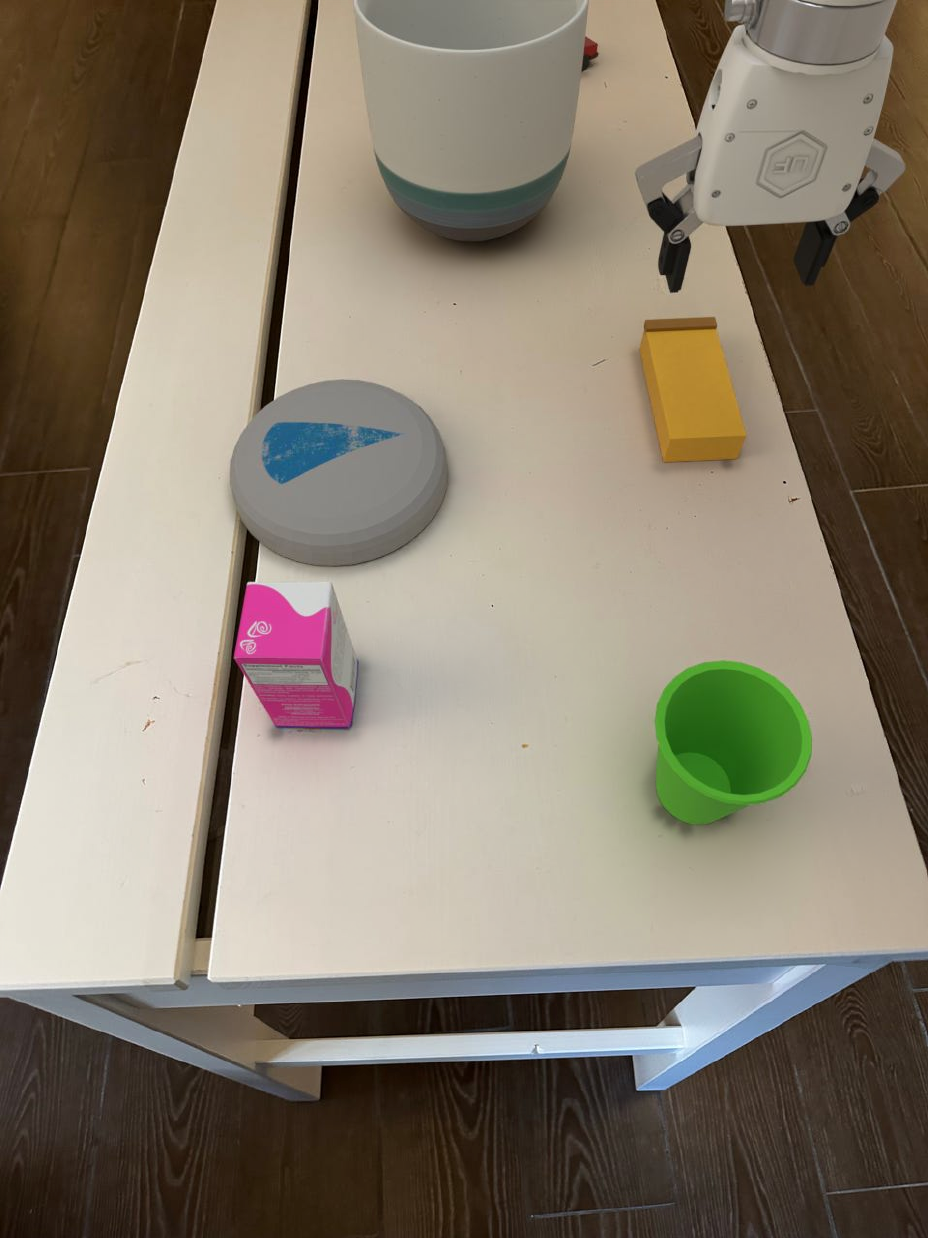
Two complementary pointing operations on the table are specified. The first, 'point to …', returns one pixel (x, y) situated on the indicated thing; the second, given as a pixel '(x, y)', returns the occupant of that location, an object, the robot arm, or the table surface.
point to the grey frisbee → (338, 472)
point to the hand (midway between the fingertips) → (736, 276)
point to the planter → (471, 106)
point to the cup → (727, 741)
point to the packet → (690, 390)
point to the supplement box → (298, 654)
